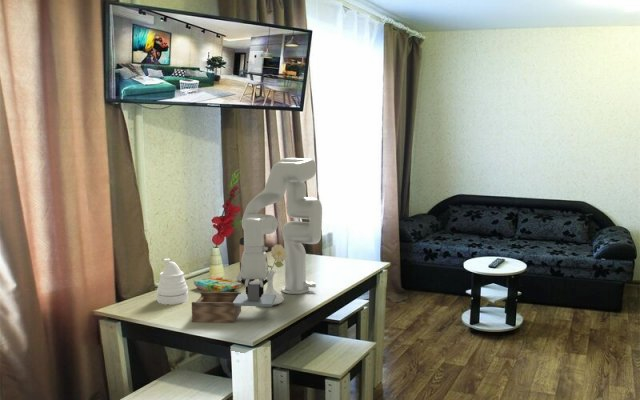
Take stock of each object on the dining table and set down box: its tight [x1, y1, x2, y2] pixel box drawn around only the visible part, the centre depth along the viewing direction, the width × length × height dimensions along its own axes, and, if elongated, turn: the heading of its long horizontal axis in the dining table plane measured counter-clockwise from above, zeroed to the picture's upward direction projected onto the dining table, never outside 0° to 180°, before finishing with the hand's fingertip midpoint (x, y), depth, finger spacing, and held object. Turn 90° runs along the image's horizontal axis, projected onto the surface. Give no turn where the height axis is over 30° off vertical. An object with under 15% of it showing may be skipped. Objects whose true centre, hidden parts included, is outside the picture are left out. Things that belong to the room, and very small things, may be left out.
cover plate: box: [233, 280, 276, 307], centre depth 219 cm, size 15×12×7 cm
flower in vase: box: [264, 243, 287, 306], centre depth 236 cm, size 13×11×25 cm
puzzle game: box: [193, 275, 243, 292], centre depth 257 cm, size 12×5×20 cm
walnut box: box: [191, 291, 242, 324], centre depth 220 cm, size 16×14×8 cm
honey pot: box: [156, 258, 189, 305], centre depth 241 cm, size 13×13×18 cm
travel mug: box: [239, 237, 256, 282], centre depth 274 cm, size 8×8×20 cm
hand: (254, 295), depth 219 cm, fingers closed on cover plate, 4 cm apart
